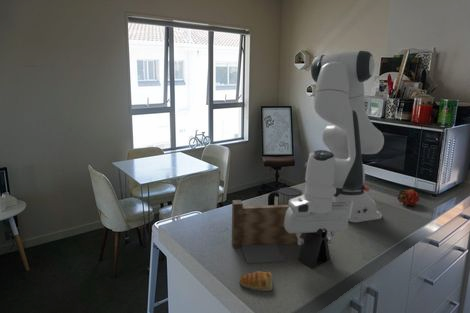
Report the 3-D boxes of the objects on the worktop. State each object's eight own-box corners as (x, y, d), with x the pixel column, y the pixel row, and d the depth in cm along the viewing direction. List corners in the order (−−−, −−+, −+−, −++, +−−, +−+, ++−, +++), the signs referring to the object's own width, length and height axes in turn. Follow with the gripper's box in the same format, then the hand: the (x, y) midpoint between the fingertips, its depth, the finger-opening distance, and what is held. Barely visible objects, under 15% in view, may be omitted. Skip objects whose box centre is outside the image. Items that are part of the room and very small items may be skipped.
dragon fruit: (399, 210, 159) (409, 208, 167) (417, 204, 153) (426, 202, 161) (391, 193, 161) (401, 192, 169) (408, 186, 156) (418, 185, 164)
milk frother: (301, 223, 139) (303, 188, 136) (296, 239, 124) (299, 201, 121) (267, 218, 143) (268, 184, 140) (258, 234, 128) (259, 197, 125)
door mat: (275, 245, 120) (275, 244, 120) (284, 261, 109) (284, 260, 109) (241, 247, 118) (241, 245, 118) (247, 263, 107) (247, 262, 107)
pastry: (239, 291, 94) (239, 279, 93) (239, 278, 100) (239, 266, 99) (273, 292, 93) (274, 280, 93) (271, 278, 100) (271, 267, 99)
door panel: (309, 238, 125) (312, 197, 122) (314, 245, 120) (317, 202, 117) (231, 242, 121) (232, 200, 117) (233, 249, 116) (234, 205, 113)
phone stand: (311, 268, 105) (314, 232, 103) (297, 260, 110) (299, 225, 108) (330, 260, 110) (334, 226, 108) (317, 252, 115) (319, 219, 112)
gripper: (344, 198, 110) (340, 238, 113) (283, 200, 107) (281, 240, 110) (354, 205, 104) (349, 247, 107) (289, 207, 101) (287, 250, 104)
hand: (314, 243), depth 109 cm, fingers open, 8 cm apart
